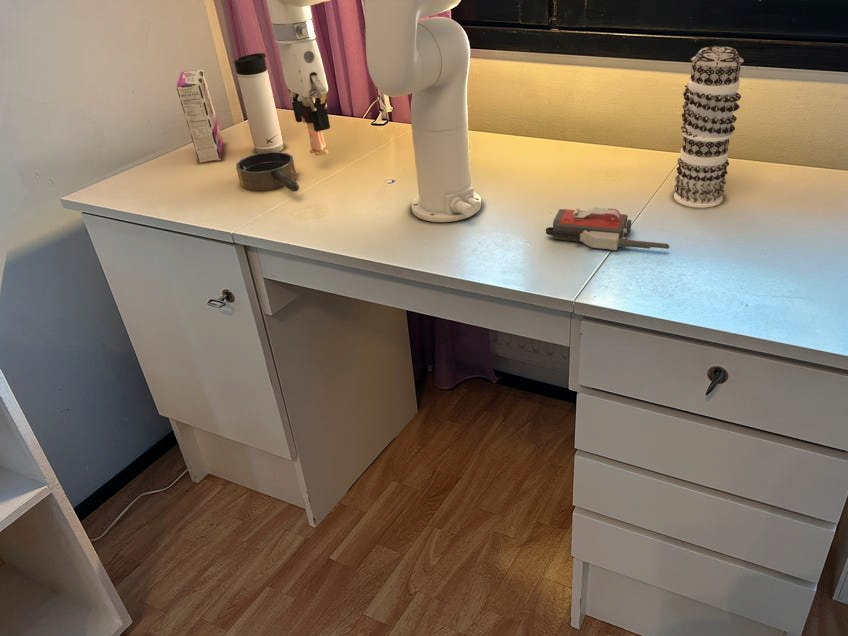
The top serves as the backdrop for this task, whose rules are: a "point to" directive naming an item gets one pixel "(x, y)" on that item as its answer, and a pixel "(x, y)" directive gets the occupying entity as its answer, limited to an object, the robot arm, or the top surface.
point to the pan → (264, 170)
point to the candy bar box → (200, 115)
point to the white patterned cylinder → (707, 126)
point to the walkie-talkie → (596, 229)
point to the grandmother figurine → (312, 128)
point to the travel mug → (259, 103)
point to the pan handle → (286, 180)
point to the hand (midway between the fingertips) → (312, 124)
